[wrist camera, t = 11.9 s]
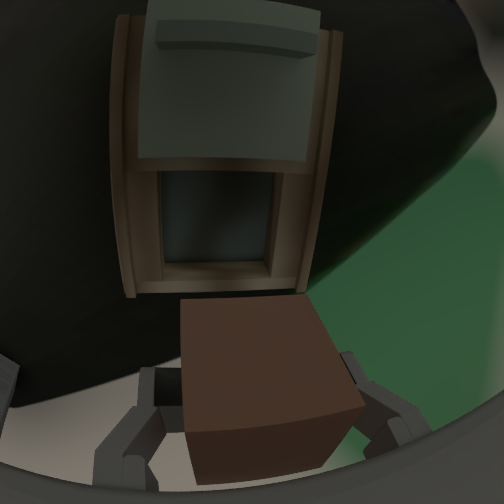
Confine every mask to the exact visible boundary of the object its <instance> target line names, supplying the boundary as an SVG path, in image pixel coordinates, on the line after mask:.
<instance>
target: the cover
mask: <svg viewBox="0 0 504 504" xmlns="http://www.w3.org/2000/svg"><path fill="white" fill-rule="evenodd" d="M320 14H321V11H317V10H313V9H309V8H304V7H299V6H295V5H289V4H284V3H278V2H272V1H265V0H148V6H147V13H146V20H145V28H144V37H143V47H142V58H141V71H140V87H139V111H138V158H159V157H228V158H255V159H274V160H289V161H302V162H305V161H306V153H307V145H308V137H309V129H310V120H311V112H312V103H313V93H314V83H315V73H316V63H317V52H318V40H319V27H320Z"/></svg>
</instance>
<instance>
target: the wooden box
mask: <svg viewBox="0 0 504 504" xmlns="http://www.w3.org/2000/svg"><path fill="white" fill-rule="evenodd" d="M145 20H146V15H138V16H131V15H130V14H121V15H118V18H116V25H115V33H114V41H113V51H112V63H111V78H110V100H109V151H110V174H111V190H112V203H113V213H114V223H115V232H116V240H117V248H118V255H119V262H120V268H121V275H122V281H123V286H124V292H125V293H126V297H127V298H136V294H137V293H170V292H211V291H239V290H263V289H283V288H295V290H296V292H305V291H306V286H307V281H308V277H309V272H310V267H311V262H312V257H313V252H314V247H315V241H316V236H317V231H318V225H319V220H320V214H321V208H322V203H323V197H324V191H325V184H326V178H327V172H328V165H329V158H330V151H331V144H332V137H333V129H334V122H335V114H336V105H337V96H338V87H339V77H340V67H341V56H342V44H343V32H340V31H337V30H331V31H326V30H322V29H319V40H318V52H317V63H316V73H315V83H314V93H313V103H312V112H311V120H310V129H309V137H308V145H307V153H306V161H305V162H302V161H289V160H274V159H255V158H228V157H159V158H138V111H139V87H140V71H141V58H142V47H143V37H144V28H145Z"/></svg>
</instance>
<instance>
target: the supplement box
mask: <svg viewBox="0 0 504 504" xmlns="http://www.w3.org/2000/svg"><path fill="white" fill-rule="evenodd" d="M19 368H20V365H18V364H16V363H15V362H13V361H11V360H10V359H8V358H7V357H5V356H3V355H2V354H0V437H1V433H2V429H3V425H4V422H5V418H6V415H7V412H8V408H9V405H10V402H11V399H12V396H13V393H14V390H15V385H16V381H17V377H18V373H19Z"/></svg>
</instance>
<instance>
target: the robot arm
mask: <svg viewBox="0 0 504 504" xmlns="http://www.w3.org/2000/svg"><path fill="white" fill-rule="evenodd" d="M339 354H340V356H341V358H342V360H343V362H344V364H345V366H346V368H347V369H348V371H349V373H350V375H351V377H352V379H353V381H354V383H355V385H356V387H357V388H358V390H359V392H360V394H361V396H362V398H363V400H364V402H365V404H366V406H365V408H364V409H363V411H362V412H361V414H360V415H359V417H358V418H357V420H356V421H355V423H354V424H353V426H354V427H355V428H356V429H358V430H359V431H360V432H361V433H362V434H364V435H365V436H366V437H368V438H369V439H370V440H371V441H370V443H369V444H368V445H367V446H366V447H365V448H364V450H363V453H364V455H365V458H366V460H363V461H360V462H357V463H355V464H351V465H348V466H345V467H341V468H338V469H334V470H331V471H327V472H323V473H320V474H315V475H311V476H307V477H303V478H298V479H294V480H289V481H283V482H278V483H272V484H266V485H260V486H252V487H245V488H236V489H226V490H212V491H190V492H160V491H159V487H158V481H157V479H156V478H155V476H154V475H153V473H152V471H151V469H150V468H149V466H148V463H149V461H150V460H151V458H152V457H153V455H154V453H155V452H156V450H157V449H158V447H159V445H160V444H161V442H162V441H163V439H164V437H165V436H166V433H174V432H175V433H177V432H185V431H184V416H183V398H182V374H181V368H160V367H141V369H140V375H139V386H138V400H137V406H133V407H132V408H131V409H130V410H129V412H128V413H127V414H126V415H125V416H124V417H123V418H122V420H121V421H120V422H119V423H118V424H117V425H116V427H115V428H114V429H113V430H112V431H111V433H110V434H109V435H108V436H107V437H106V438H105V439H104V441H103V442H102V443H101V444H100V445H99V447H98V448H97V449H96V450H95V456H94V468H93V482H92V485H87V484H81V483H75V482H71V481H66V480H61V479H57V478H53V477H48V476H45V475H41V474H37V473H33V472H30V471H26V470H23V469H20V468H17V467H14V466H11V465H8V464H5V463H2V462H0V504H504V390H503V391H501V392H500V393H498V394H497V395H495V396H494V397H492V398H491V399H489V400H488V401H486V402H485V403H483V404H481V405H480V406H478V407H477V408H475V409H473V410H472V411H470V412H468V413H467V414H465V415H463V416H462V417H460V418H458V419H456V420H454V421H452V422H451V423H449V424H447V425H445V426H443V427H441V428H439V429H437V430H435V431H432V430H431V428H430V426H429V425H428V423H427V421H426V420H425V418H424V416H423V415H422V413H421V411H420V410H419V408H418V407H416V406H415V405H413V404H411V403H409V402H408V401H406V400H404V399H402V398H401V397H399V396H397V395H396V394H394V393H392V392H390V391H389V390H387V389H385V388H384V387H382V386H380V385H379V384H377V383H375V382H374V381H369V380H368V378H367V377H366V375H365V373H364V371H363V370H362V368H361V366H360V365H359V363H358V361H357V359H356V358H355V356H354V354H353V353H352V352H351V351H346V352H340V353H339Z"/></svg>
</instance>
